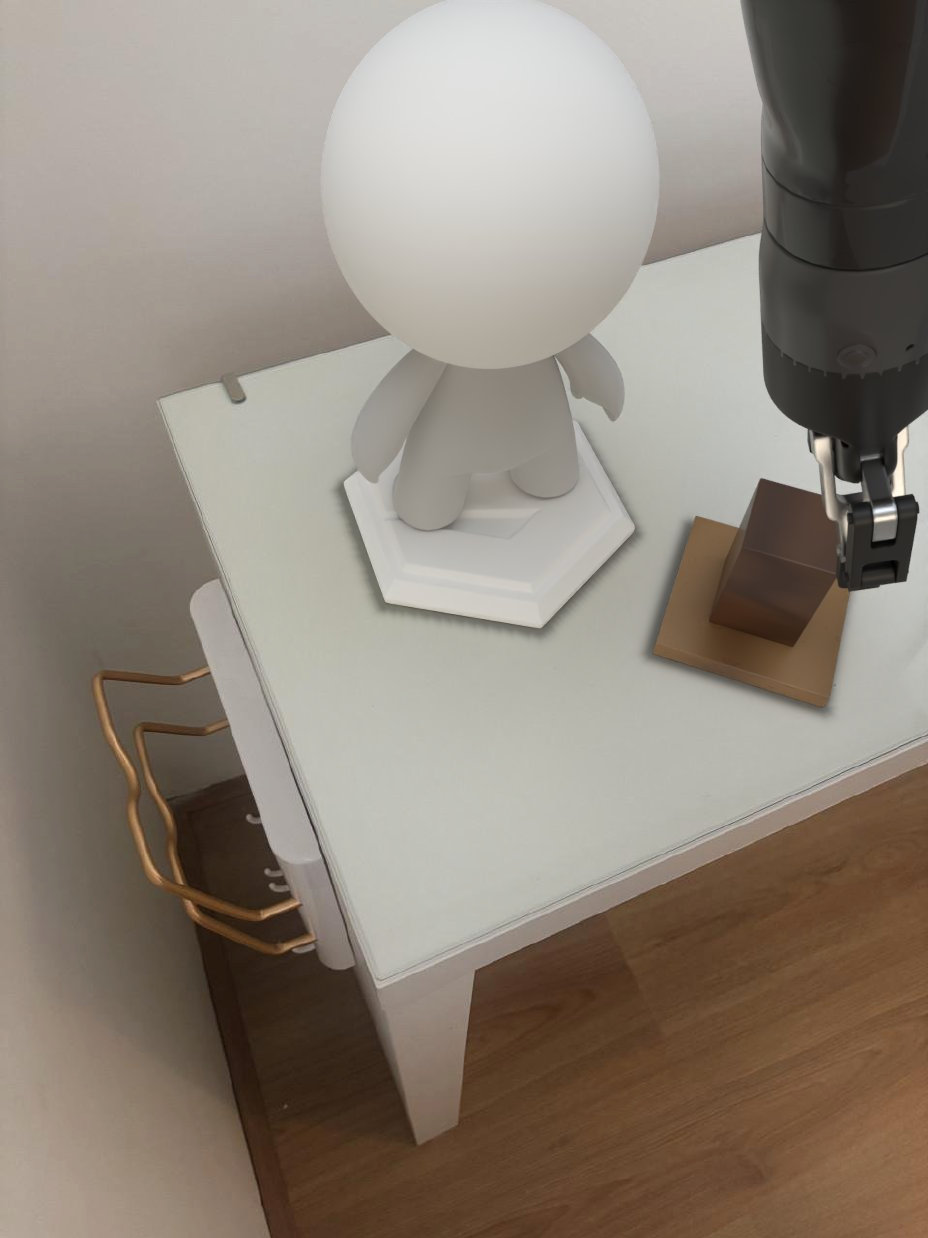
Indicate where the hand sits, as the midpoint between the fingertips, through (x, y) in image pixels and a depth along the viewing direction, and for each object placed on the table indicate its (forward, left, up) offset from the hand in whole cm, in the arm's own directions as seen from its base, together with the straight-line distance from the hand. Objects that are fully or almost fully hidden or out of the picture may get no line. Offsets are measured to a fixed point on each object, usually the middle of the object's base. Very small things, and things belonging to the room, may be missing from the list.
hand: (843, 510), depth 49 cm
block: (+1, -5, -18) cm, 19 cm away
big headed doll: (+22, -7, -18) cm, 29 cm away
